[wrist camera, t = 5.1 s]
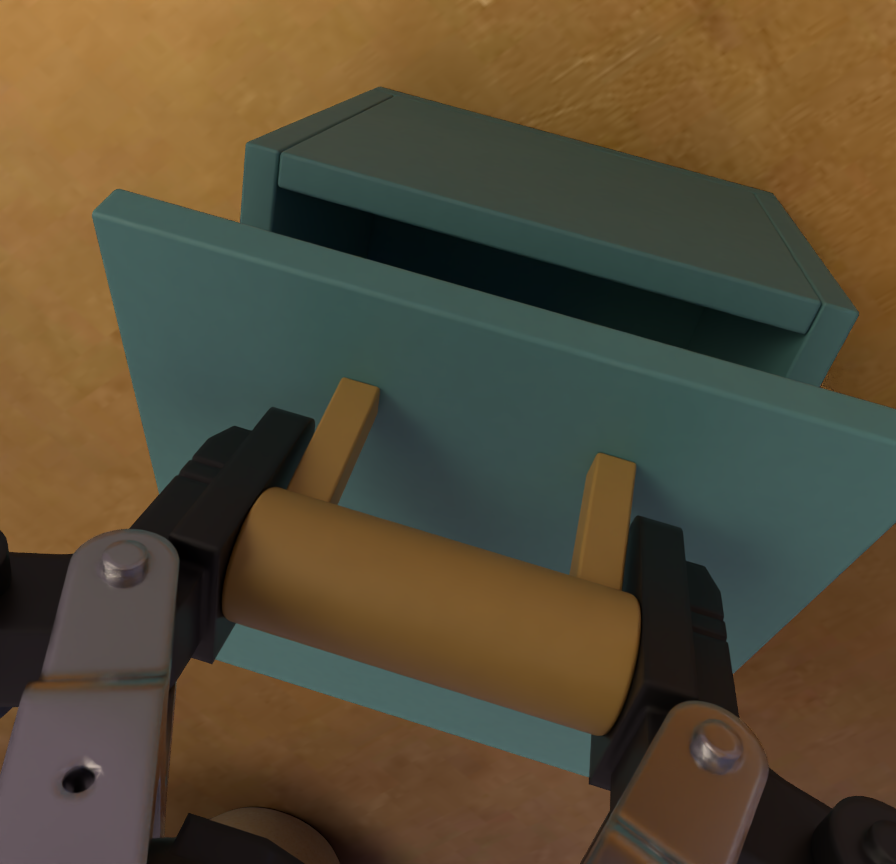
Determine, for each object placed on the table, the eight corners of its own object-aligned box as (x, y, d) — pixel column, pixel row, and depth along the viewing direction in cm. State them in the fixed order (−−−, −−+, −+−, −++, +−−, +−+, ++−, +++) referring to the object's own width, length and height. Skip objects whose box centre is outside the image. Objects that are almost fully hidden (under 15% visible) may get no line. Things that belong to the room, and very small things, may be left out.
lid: (116, 185, 12) (-125, 418, 9) (954, 423, 12) (1044, 776, 8) (208, 632, 25) (122, 801, 21) (617, 760, 24) (596, 956, 21)
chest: (378, 86, 26) (244, 141, 17) (774, 193, 25) (862, 313, 16) (319, 458, 34) (208, 633, 25) (617, 547, 33) (615, 760, 24)
